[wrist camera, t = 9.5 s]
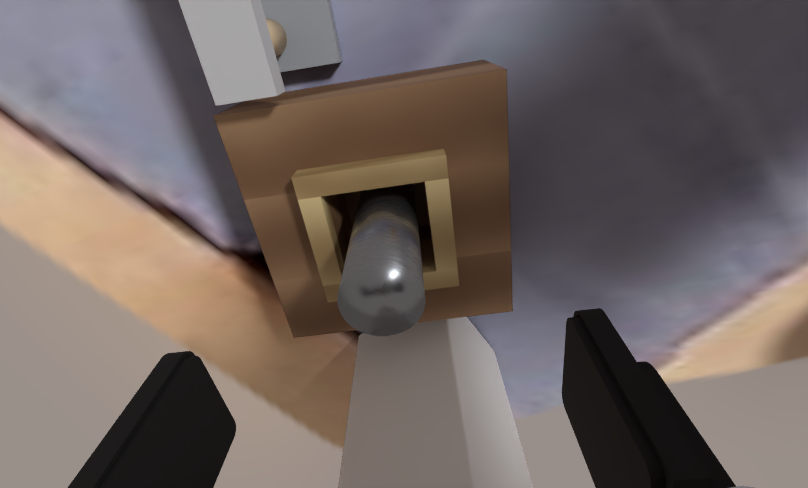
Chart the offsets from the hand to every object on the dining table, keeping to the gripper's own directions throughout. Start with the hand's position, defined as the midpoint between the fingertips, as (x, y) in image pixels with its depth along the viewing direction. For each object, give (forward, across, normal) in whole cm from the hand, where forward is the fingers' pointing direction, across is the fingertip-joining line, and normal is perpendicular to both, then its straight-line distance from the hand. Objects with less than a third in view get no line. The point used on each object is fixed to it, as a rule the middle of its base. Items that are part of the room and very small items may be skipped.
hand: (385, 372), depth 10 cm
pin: (+14, +1, +1) cm, 14 cm away
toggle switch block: (+15, +1, +1) cm, 15 cm away
